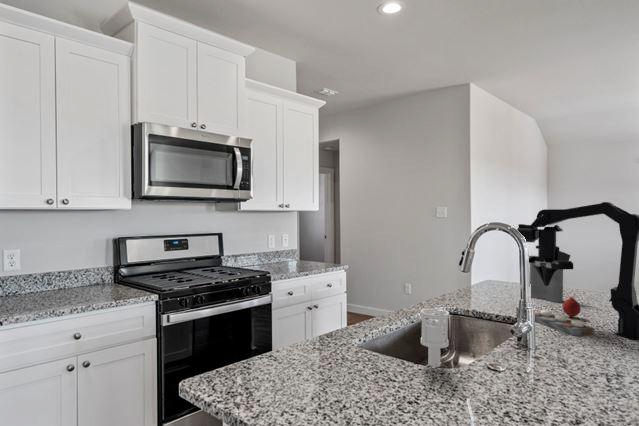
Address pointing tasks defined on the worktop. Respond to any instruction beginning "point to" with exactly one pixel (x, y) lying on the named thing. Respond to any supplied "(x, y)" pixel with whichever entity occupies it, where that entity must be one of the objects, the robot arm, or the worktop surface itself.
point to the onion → (571, 307)
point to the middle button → (561, 318)
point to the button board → (563, 325)
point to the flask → (546, 292)
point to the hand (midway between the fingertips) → (546, 285)
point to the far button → (546, 313)
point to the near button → (577, 323)
